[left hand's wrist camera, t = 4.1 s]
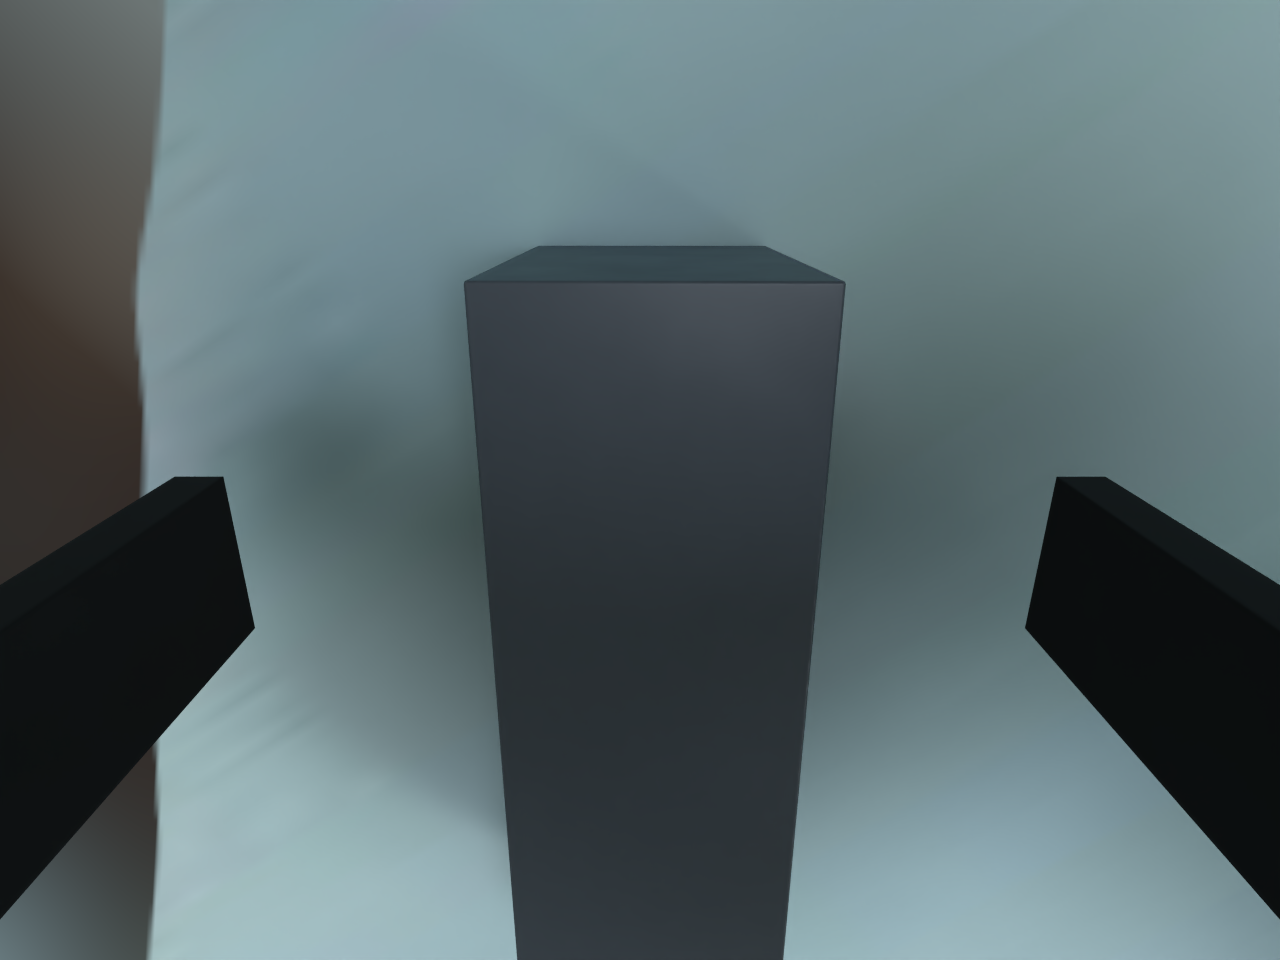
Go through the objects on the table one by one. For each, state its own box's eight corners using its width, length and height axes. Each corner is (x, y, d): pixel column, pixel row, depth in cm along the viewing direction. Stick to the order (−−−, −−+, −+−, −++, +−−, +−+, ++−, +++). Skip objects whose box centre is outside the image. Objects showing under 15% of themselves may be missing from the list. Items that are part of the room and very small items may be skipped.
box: (536, 245, 21) (463, 281, 12) (766, 245, 21) (846, 280, 12) (565, 866, 28) (531, 1142, 20) (731, 867, 28) (766, 1145, 20)
